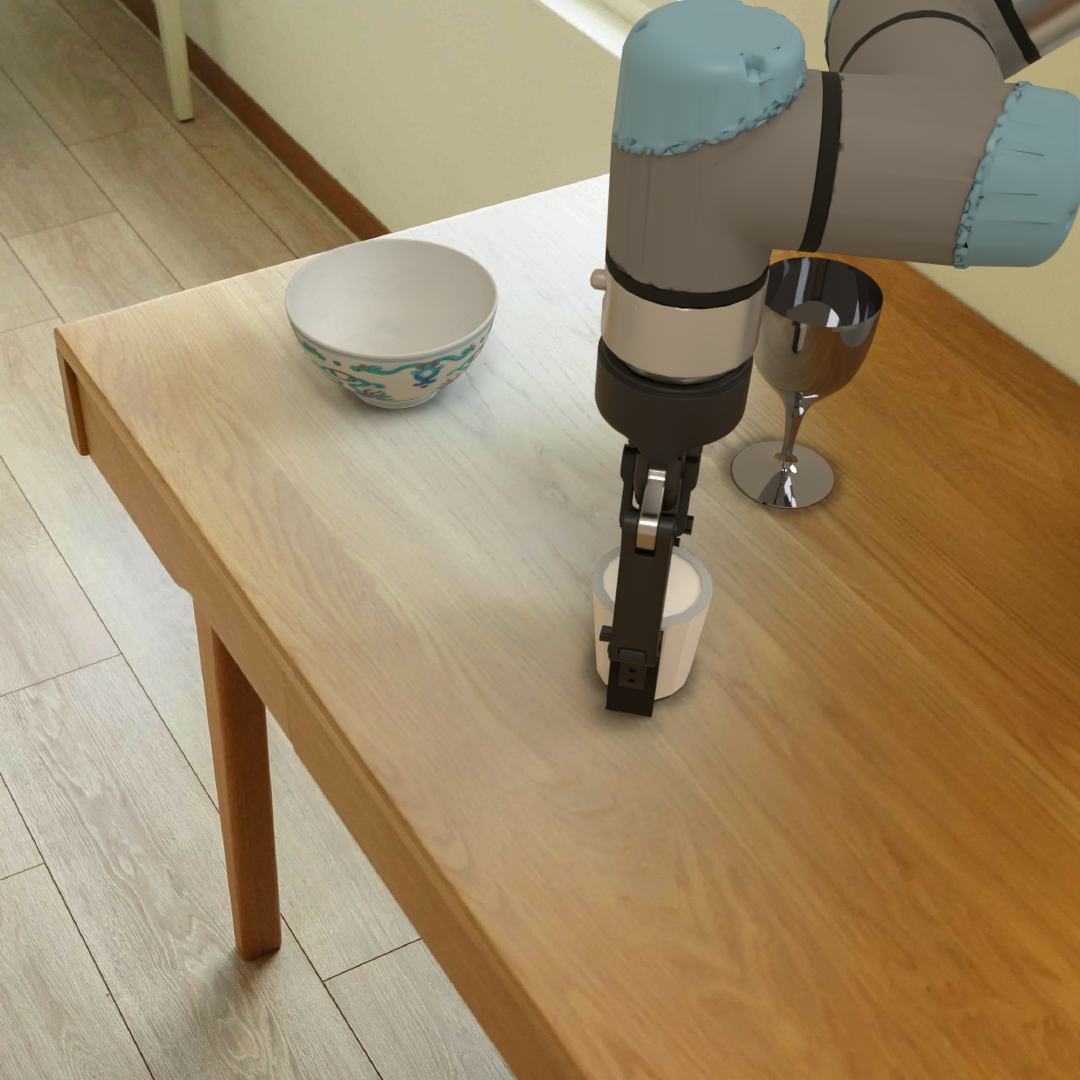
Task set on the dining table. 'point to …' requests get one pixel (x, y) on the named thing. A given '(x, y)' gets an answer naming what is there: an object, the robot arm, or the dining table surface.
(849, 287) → the wine glass
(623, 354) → the robot arm
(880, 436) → the dining table surface
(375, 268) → the chinaware
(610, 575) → the shot glass
